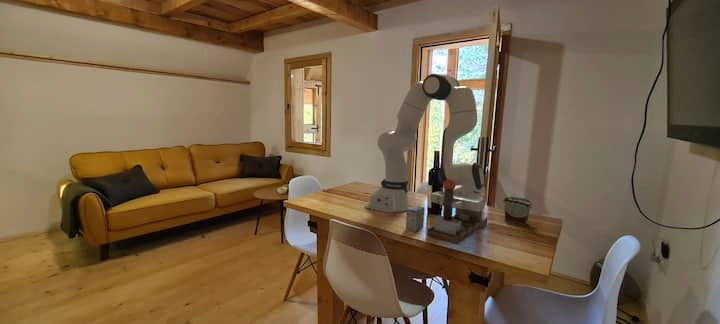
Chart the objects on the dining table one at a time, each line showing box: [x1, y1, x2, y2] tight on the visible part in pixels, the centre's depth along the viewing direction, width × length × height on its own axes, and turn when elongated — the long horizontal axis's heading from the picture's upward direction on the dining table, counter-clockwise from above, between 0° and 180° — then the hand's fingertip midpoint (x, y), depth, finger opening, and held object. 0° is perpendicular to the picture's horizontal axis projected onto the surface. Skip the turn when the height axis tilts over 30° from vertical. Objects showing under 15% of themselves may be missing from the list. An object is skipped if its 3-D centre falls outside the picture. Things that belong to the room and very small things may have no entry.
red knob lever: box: [433, 180, 461, 236], centre depth 117 cm, size 4×9×20 cm, turn 48°
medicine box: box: [405, 204, 425, 232], centre depth 127 cm, size 8×4×9 cm, turn 145°
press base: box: [426, 208, 488, 246], centre depth 126 cm, size 30×12×7 cm, turn 138°
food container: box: [502, 196, 533, 226], centre depth 138 cm, size 12×6×10 cm, turn 34°
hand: (447, 204), depth 116 cm, fingers closed on red knob lever, 3 cm apart
